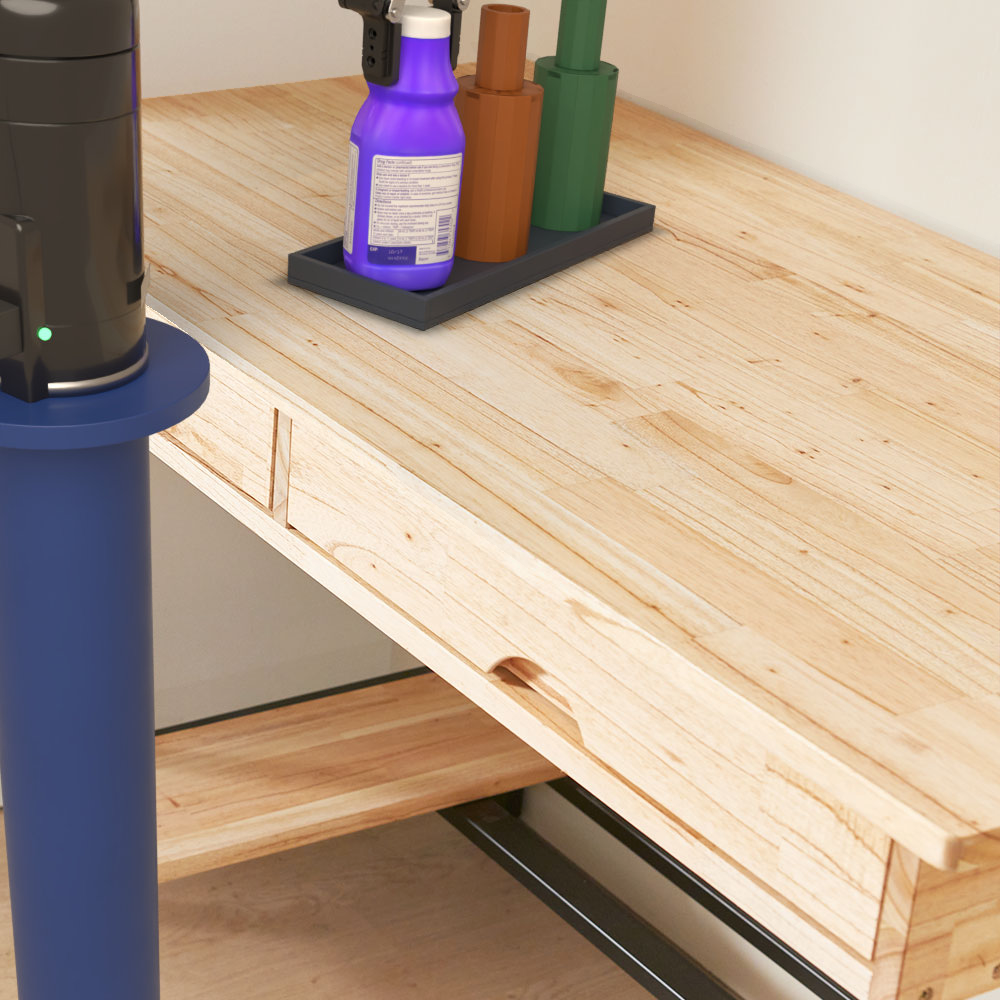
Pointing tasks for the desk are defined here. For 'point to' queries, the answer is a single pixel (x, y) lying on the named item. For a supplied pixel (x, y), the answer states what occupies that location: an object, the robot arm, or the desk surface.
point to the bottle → (407, 164)
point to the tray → (469, 268)
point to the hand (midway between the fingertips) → (410, 75)
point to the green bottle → (574, 122)
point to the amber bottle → (498, 140)
